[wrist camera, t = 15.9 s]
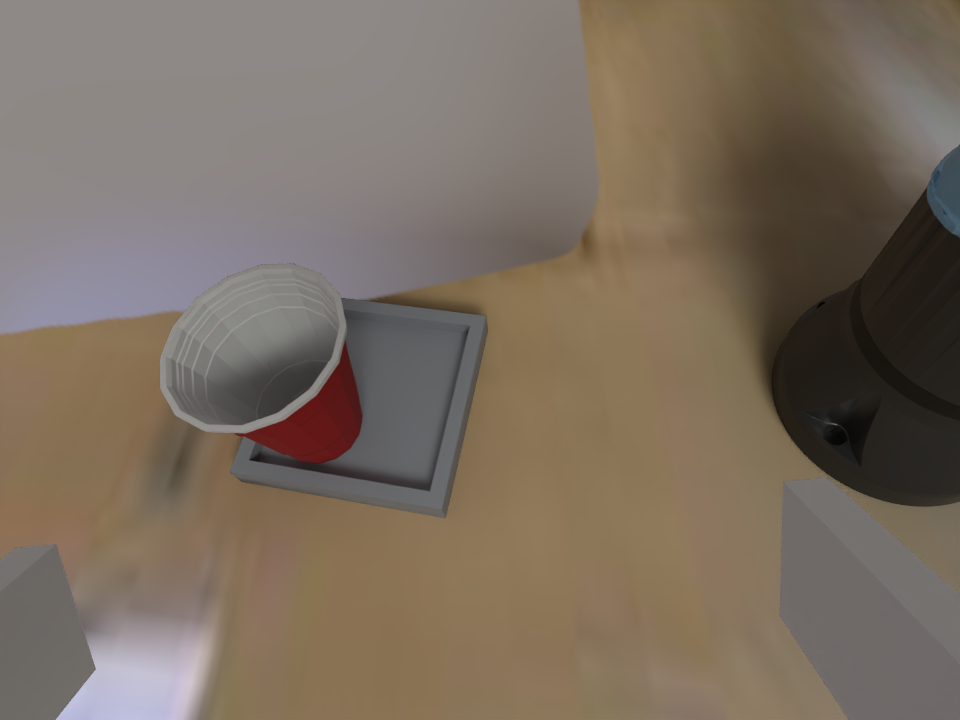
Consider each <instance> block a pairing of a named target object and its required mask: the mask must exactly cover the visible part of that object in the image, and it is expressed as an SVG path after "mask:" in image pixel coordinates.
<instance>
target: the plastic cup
mask: <svg viewBox="0 0 960 720" xmlns="http://www.w3.org/2000/svg"><path fill="white" fill-rule="evenodd" d="M346 333H347V325H346V320H345V315H344V311H343V306H342V301H341V296H340V294H339V293H338V292H337V291H336V290H335V289H334V288H333V287H332V285H331V284H330V283H329V282H328V281H327V280H326V279H325V277H323V275H322V274H320V273H317V272H315V271H312V270H309V269H307V268H304V267H301V266H299V265H296V264H268V265H267V264H266V265H258V266H256V267H253V268H250V269H247V270H244V271H241V272H238V273H236V274H233V275H230V276H227V277H226V278H224V279H223V280H221V281H220V282H218V283H217V284H216V285H214V286H213V287H211V288H210V289H208V290H207V291H205V292H204V293H203V294H201V295H200V296H198V297H197V298H196V299H195V300H194V301H193V303H192V304H191V305H190V306H189V307H188V309H187V310H186V311H185V312H184V313H183V315H182V316H181V317H180V318H179V319H178V321H177V322H176V323H175V324H174V325H173V327H172V330H171V332H170V335H169V337H168V340H167V342H166V345H165V347H164V350H163V352H162V355H161V357H160V390H161V391H162V393H163V395H164V397H165V398H166V400H167V402H168V403H169V405H170V407H171V409H172V410H173V412H174V414H175V416H177V417H179V418H181V419H183V420H185V421H186V422H188V423H190V424H192V425H194V426H196V427H197V428H199V429H201V430H203V431H206V432H219V433H233V434H236V435H238V436H243V437H246V438H248V439H250V440H253V441H255V442H257V443H259V444H261V445H263V446H266V447H268V448H270V449H272V450H274V451H276V452H279V453H281V454H283V455H289V456H291V457H293V458H295V459H297V460H299V461H301V462H307V463H325V462H328V461H331V460H334V459H337V458H339V457H340V456H341V455H343V454H344V453H345V452H347V451H348V450H349V449H350V448H351V447H352V445H353V444H354V442H355V441H356V439H357V438H358V436H359V434H360V429H361V425H362V418H363V415H362V410H361V406H360V401H359V394H358V390H357V385H356V381H355V377H354V373H353V370H352V366H351V362H350V359H349V355H348V350H347V345H346V340H345V337H346Z"/></svg>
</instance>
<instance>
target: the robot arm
mask: <svg viewBox="0 0 960 720" xmlns="http://www.w3.org/2000/svg"><path fill="white" fill-rule="evenodd" d="M772 385H773V394H774V399H775V403H776V406H777V409H778V412H779V415H780V417H781V419H782V421H783V423H784V425H785V427H786V429H787V431H788V432H789V434H790V435H791V437H792V438H793V440H794V441H795V442H796V444H797V445H798V446H799V448H800V449H801V450H802V451H803V452H804V453H805V454H806V455H807V456H808V457H809V458H810V459H811V460H812V461H813V462H814V463H815V464H816V465H817V466H818V467H820V468H821V469H822V470H823V471H825V472H826V473H827V474H829V475H830V476H832V477H833V478H835V479H836V480H838V481H839V482H841V483H843V484H844V485H846V486H848V487H850V488H852V489H854V490H856V491H858V492H860V493H863V494H865V495H868V496H870V497H873V498H876V499H879V500H882V501H886V502H890V503H895V504H900V505H908V506H941V505H947V504H952V503H956V502H959V501H960V145H959V146H958V147H956V148H955V149H954V150H952V151H951V152H950V153H949V154H947V155H946V156H945V157H944V158H943V159H942V160H941V162H940V163H939V164H938V165H937V167H936V168H935V170H934V171H933V173H932V178H931V180H930V182H929V184H928V187H927V188H926V190H925V191H924V193H923V194H922V195H921V197H920V198H919V199H918V201H917V202H916V204H915V205H914V206H913V208H912V209H911V211H910V212H909V213H908V215H907V216H906V218H905V219H904V220H903V222H902V223H901V225H900V226H899V227H898V229H897V230H896V232H895V233H894V234H893V236H892V237H891V239H890V240H889V241H888V243H887V244H886V245H885V247H884V248H883V250H882V251H881V252H880V254H879V255H878V256H877V258H876V259H875V260H874V262H873V263H872V264H871V266H870V267H869V269H868V270H867V272H866V273H865V274H864V276H863V277H862V278H861V279H859V280H858V281H856V282H855V283H853V284H852V285H850V286H849V287H848V288H847V289H845V290H844V291H841V292H839V293H836V294H834V295H832V296H829V297H827V298H825V299H824V300H822V301H820V302H819V303H817V304H816V305H814V306H813V307H811V308H810V309H809V310H808V311H807V312H806V313H804V314H803V315H802V316H801V317H800V318H799V319H798V321H797V322H796V323H795V324H794V326H793V327H792V329H791V330H790V332H789V333H788V335H787V336H786V338H785V340H784V341H783V343H782V345H781V346H780V348H779V350H778V353H777V355H776V358H775V362H774V367H773V374H772ZM780 617H781V618H782V620H783V621H784V623H785V624H786V626H787V627H788V629H789V630H790V632H791V634H792V635H793V637H794V638H795V640H796V641H797V643H798V644H799V646H800V647H801V649H802V650H803V652H804V653H805V655H806V656H807V658H808V659H809V661H810V662H811V664H812V665H813V667H814V668H815V670H816V671H817V673H818V674H819V676H820V677H821V679H822V680H823V682H824V683H825V685H826V686H827V688H828V689H829V691H830V692H831V694H832V695H833V697H834V698H835V700H836V701H837V703H838V704H839V706H840V707H841V709H842V710H843V712H844V713H845V715H846V716H847V718H848V719H849V720H960V594H959V593H957V592H956V591H955V590H954V589H953V588H952V587H951V586H950V585H948V584H947V583H946V582H945V581H944V580H943V579H942V578H941V577H939V576H938V575H937V574H936V573H935V572H934V571H933V570H931V569H930V568H929V567H928V566H927V565H926V564H925V563H924V562H922V561H921V560H920V559H919V558H918V557H917V556H916V555H915V554H913V553H912V552H911V551H910V550H909V549H908V548H907V547H906V546H904V545H903V544H902V543H901V542H900V541H899V540H898V539H896V538H895V537H894V536H893V535H892V534H891V533H890V532H889V531H887V530H886V529H885V528H884V527H883V526H882V525H881V524H880V523H878V522H877V521H876V520H875V519H874V518H873V517H872V516H871V515H869V514H868V513H867V512H866V511H865V510H864V509H863V508H861V507H860V506H859V505H858V504H857V503H856V502H855V501H854V500H852V499H851V498H850V497H849V496H848V495H847V494H846V493H845V492H843V491H842V490H841V489H840V488H839V487H838V486H837V485H836V484H834V483H833V482H832V481H831V480H830V479H829V478H817V479H806V480H794V481H783V508H782V546H781V584H780ZM95 669H96V668H95V665H94V662H93V659H92V656H91V652H90V649H89V646H88V643H87V640H86V637H85V634H84V630H83V627H82V624H81V621H80V618H79V615H78V611H77V608H76V605H75V602H74V599H73V596H72V592H71V589H70V586H69V583H68V580H67V577H66V573H65V570H64V567H63V564H62V561H61V558H60V555H59V551H58V548H57V545H56V544H53V545H41V546H30V547H18V548H15V549H14V550H12V551H11V552H10V553H8V554H7V555H6V556H5V557H3V558H2V559H1V560H0V720H55V719H56V718H57V717H58V716H59V714H60V713H61V712H62V711H63V709H64V708H65V707H66V706H67V704H68V703H69V702H70V701H71V699H72V698H73V697H74V696H75V694H76V693H77V692H78V691H79V689H80V688H81V687H82V686H83V684H84V683H85V682H86V681H87V679H88V678H89V677H90V676H91V674H92V673H93V672H94V671H95Z"/></svg>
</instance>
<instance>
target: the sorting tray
mask: <svg viewBox="0 0 960 720" xmlns="http://www.w3.org/2000/svg"><path fill="white" fill-rule="evenodd" d="M341 301H342V306H343V311H344V315H345V320H346V325H347V333H346V337H345V340H346V345H347V350H348V355H349V359H350V362H351V366H352V370H353V373H354V377H355V381H356V385H357V390H358V394H359V401H360V406H361V410H362V415H363V418H362V425H361V429H360V434H359V436H358V438H357V439H356V441H355V442H354V444H353V445H352V447H351V448H350V449H349V450H348V451H347V452H345V453H344V454H343V455H341V456H340V457H339V458H337V459H334V460H331V461H328V462H325V463H307V462H301V461H299V460H297V459H295V458H293V457H291V456H289V455H283V454H281V453H279V452H276V451H274V450H272V449H270V448H268V447H266V446H263V445H261V444H259V443H257V442H255V441H253V440H250V439H248V438H246V437H243V439H242V442H241V444H240V447H239V449H238V452H237V454H236V457H235V459H234V462H233V464H232V467H231V469H230V473H231V474H233V475H234V476H235V477H236V478H238V479H239V480H240V481H241V482H247V483H252V484H258V485H264V486H269V487H275V488H280V489H286V490H292V491H297V492H303V493H308V494H314V495H320V496H325V497H331V498H336V499H342V500H348V501H353V502H359V503H364V504H370V505H376V506H381V507H387V508H392V509H398V510H404V511H409V512H415V513H420V514H426V515H431V516H437V517H443V518H446V514H447V510H448V506H449V501H450V497H451V492H452V488H453V483H454V479H455V475H456V470H457V466H458V461H459V457H460V452H461V448H462V444H463V439H464V435H465V430H466V426H467V421H468V417H469V412H470V408H471V404H472V399H473V395H474V390H475V386H476V381H477V377H478V373H479V368H480V364H481V359H482V355H483V350H484V346H485V342H486V337H487V333H488V326H487V319H486V316H483V315H475V314H467V313H459V312H451V311H443V310H435V309H427V308H419V307H411V306H403V305H394V304H386V303H378V302H370V301H362V300H354V299H346V298H341Z"/></svg>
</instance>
